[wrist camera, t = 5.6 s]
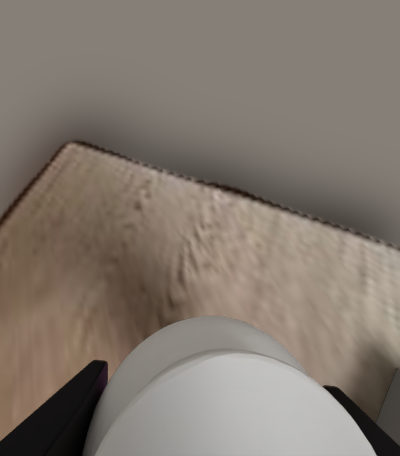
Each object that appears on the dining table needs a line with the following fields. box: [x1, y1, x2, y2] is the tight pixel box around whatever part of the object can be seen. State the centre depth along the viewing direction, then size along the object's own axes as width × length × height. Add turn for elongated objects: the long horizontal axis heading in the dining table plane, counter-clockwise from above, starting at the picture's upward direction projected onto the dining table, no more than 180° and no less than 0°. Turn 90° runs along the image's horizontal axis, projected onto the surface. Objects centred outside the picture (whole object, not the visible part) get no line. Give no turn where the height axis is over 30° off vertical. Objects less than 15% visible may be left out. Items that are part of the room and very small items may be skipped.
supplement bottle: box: [82, 316, 377, 456], centre depth 9 cm, size 7×7×13 cm
